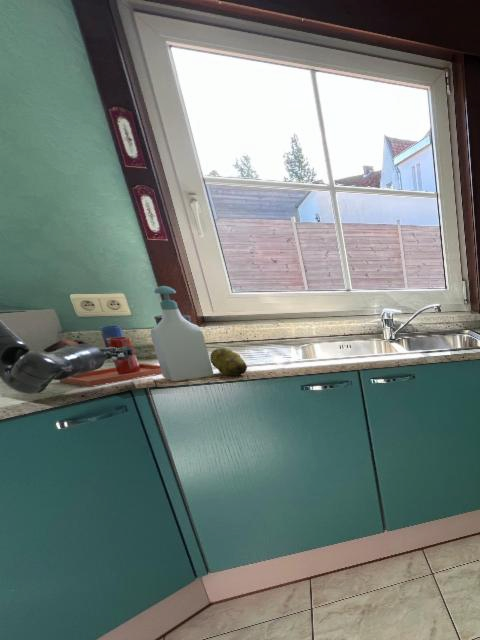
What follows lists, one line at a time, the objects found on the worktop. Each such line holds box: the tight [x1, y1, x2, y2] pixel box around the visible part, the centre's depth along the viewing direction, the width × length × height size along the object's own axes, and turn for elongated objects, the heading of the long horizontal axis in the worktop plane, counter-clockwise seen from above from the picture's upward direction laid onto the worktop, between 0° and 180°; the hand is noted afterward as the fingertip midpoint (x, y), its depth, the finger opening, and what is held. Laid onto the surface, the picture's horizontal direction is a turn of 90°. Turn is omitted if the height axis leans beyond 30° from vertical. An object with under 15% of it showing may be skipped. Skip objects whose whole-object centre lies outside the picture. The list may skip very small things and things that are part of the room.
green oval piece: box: [209, 347, 248, 377], centre depth 159 cm, size 8×13×8 cm, turn 43°
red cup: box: [106, 336, 141, 375], centre depth 153 cm, size 5×6×11 cm
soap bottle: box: [150, 285, 214, 382], centre depth 151 cm, size 11×8×27 cm
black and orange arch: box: [42, 337, 87, 353], centre depth 172 cm, size 12×9×8 cm
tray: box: [59, 362, 162, 387], centre depth 152 cm, size 22×14×2 cm, turn 162°
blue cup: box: [99, 325, 125, 352], centre depth 175 cm, size 5×6×11 cm
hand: (112, 349), depth 148 cm, fingers open, 8 cm apart
